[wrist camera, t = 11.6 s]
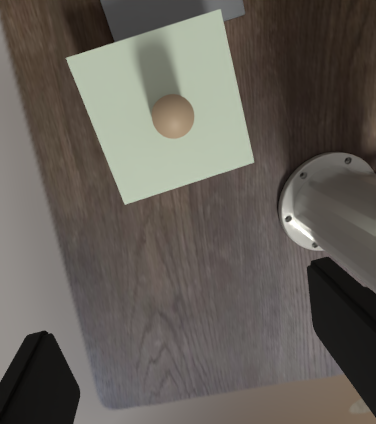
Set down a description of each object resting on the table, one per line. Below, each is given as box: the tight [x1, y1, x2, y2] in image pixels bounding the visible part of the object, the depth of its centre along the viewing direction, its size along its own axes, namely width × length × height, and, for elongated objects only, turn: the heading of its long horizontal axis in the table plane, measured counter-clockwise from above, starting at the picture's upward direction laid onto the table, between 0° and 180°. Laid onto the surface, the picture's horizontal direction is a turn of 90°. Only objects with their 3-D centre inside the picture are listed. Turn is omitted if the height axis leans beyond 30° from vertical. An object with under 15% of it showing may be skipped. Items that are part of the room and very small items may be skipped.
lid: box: [66, 9, 254, 204], centre depth 24 cm, size 13×13×6 cm
